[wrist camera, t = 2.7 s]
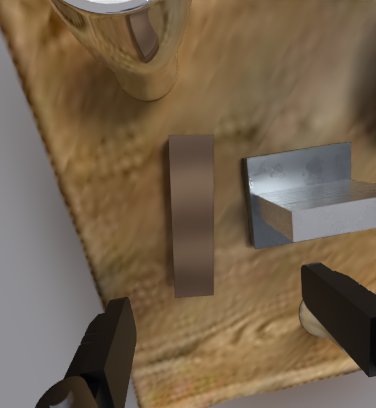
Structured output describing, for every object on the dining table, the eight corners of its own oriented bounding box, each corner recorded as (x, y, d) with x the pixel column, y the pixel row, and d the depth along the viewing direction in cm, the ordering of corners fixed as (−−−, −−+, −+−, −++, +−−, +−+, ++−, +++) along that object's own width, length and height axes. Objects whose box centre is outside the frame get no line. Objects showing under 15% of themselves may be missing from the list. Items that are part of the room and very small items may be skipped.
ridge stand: (242, 158, 25) (282, 160, 16) (340, 142, 25) (432, 136, 16) (250, 244, 27) (289, 287, 18) (340, 228, 27) (421, 263, 18)
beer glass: (168, 16, 21) (164, -287, 7) (191, 93, 23) (228, -15, 8) (97, 39, 21) (-64, -214, 7) (125, 115, 23) (44, 45, 8)
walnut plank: (168, 138, 24) (168, 135, 20) (206, 137, 24) (213, 134, 20) (174, 277, 27) (175, 297, 23) (207, 275, 28) (213, 295, 24)
